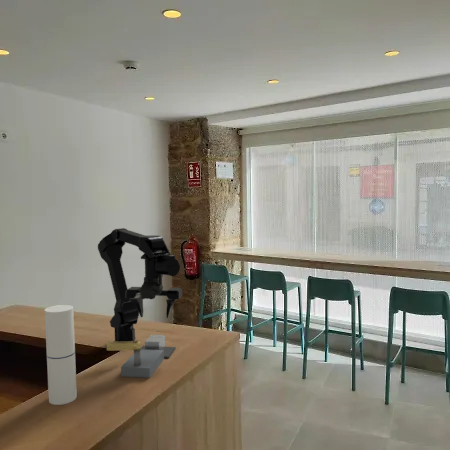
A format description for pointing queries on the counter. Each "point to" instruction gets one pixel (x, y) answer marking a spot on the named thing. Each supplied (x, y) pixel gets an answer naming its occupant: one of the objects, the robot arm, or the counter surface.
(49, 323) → the cylindrical container
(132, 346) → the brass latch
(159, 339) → the lever cap
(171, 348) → the rubber mat
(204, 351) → the counter surface
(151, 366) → the body
